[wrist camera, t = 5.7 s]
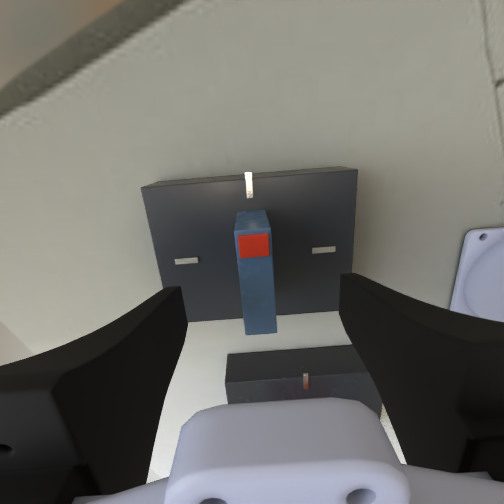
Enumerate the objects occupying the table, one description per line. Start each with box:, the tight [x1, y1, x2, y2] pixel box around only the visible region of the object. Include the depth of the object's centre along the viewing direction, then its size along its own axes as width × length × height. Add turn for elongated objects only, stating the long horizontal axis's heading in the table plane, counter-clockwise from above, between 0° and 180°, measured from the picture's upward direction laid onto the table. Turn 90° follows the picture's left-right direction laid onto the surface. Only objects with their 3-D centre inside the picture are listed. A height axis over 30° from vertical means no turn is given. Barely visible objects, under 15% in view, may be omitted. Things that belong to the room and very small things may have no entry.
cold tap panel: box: [141, 166, 358, 322], centre depth 18 cm, size 12×10×3 cm
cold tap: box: [234, 209, 277, 335], centre depth 14 cm, size 6×2×4 cm, turn 5°
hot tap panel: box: [225, 345, 382, 420], centre depth 23 cm, size 12×10×3 cm
